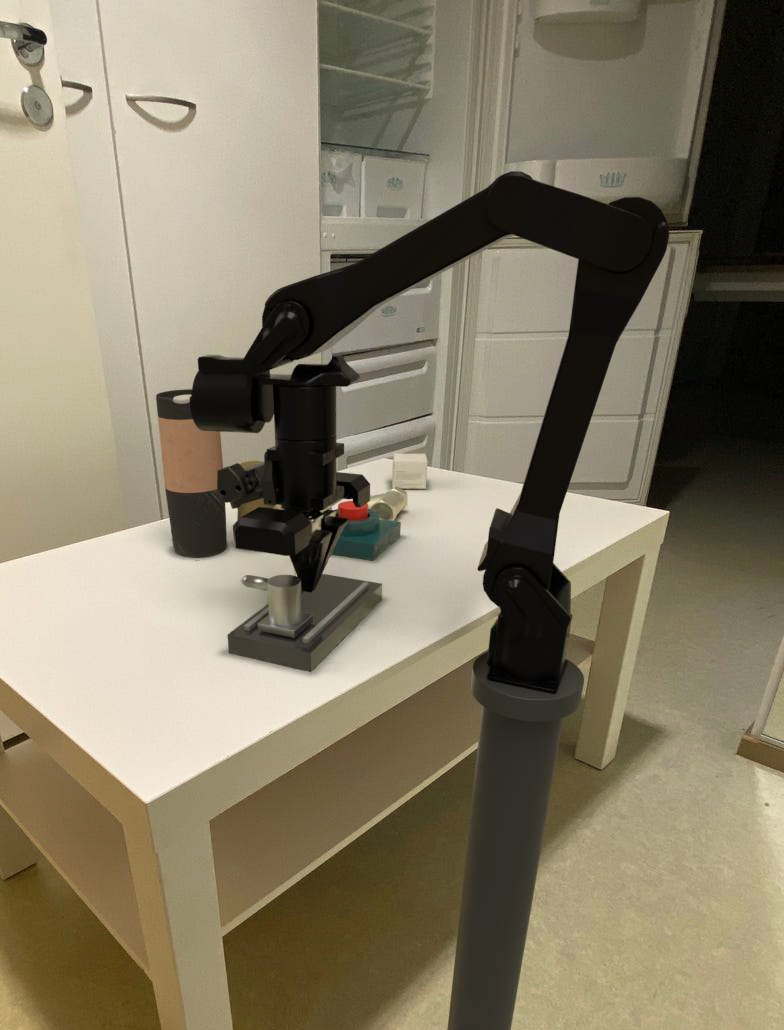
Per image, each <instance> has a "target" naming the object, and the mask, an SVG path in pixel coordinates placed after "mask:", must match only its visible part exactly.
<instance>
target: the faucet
mask: <svg viewBox="0 0 784 1030" xmlns="http://www.w3.org/2000/svg"><path fill="white" fill-rule="evenodd" d="M241 583H242V585H243V587H246V588H250V589H255V590H260V591H266V592H267V604H268V609H269V615H268V616H266V617H265V618H264V619H263V620H261V621H260V622H259V623H258V631H263V632H267V633H272V634H277V635H281V636H286V637H291V638H295V637H296V636H297V635H298V634H300V633H301V632H302V631H303V630H304V629H305V628H306V627H307V626H309V625H310V624H311V623H312V622H313V615H311V614H306V613H302V604H301V579H300V578H299V577H297V575H293V574H277V575H273V576H271V577H269V578H268V577H263V576H259V575H258V576H257V575H251V574H245V575H244V576H243V577H242V579H241Z"/></svg>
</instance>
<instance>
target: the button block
mask: <svg viewBox="0 0 784 1030" xmlns="http://www.w3.org/2000/svg"><path fill="white" fill-rule="evenodd" d="M334 510H335V517H338V508H336V509H334ZM401 525H402V521H398V520H397V521H396V520H393V521H390V520H382V519H380V516H379V514H378V512H376V511H374V510H371V509H368V518H367V519H362V520H348V523H347V525H346V526H345V527H344V529H343V531H342V533H341V535H340V537H339V539H338V541H337V543H336V545H335V547H334V549H333V552H332V554H331V555H334V556H341V557H348V558H352V559H353V558H354V559H361V560H367V561H375V560H376V559H377V558H378V557H379V556H380V555H381V554H383V553H384V552H385V551H386V550H387V549H388V548H390V547H391V546H392V545H393V544H394V543H395V542H396V541H397V540H398V539H400V538H401V528H402V526H401Z"/></svg>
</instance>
